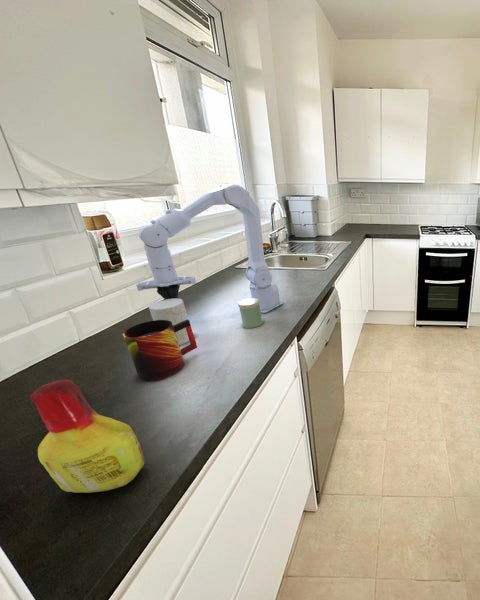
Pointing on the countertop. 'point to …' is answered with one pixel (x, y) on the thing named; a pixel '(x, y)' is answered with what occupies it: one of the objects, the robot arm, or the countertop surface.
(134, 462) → the bottle
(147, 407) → the countertop surface
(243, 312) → the tea tin
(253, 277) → the robot arm
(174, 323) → the white cylinder
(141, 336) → the mug
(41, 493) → the countertop surface
